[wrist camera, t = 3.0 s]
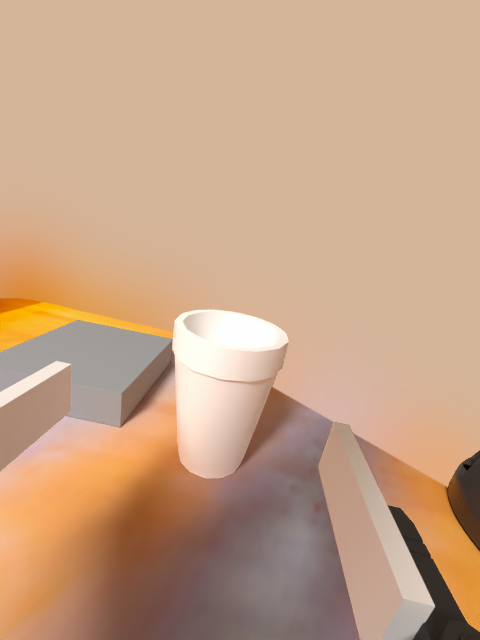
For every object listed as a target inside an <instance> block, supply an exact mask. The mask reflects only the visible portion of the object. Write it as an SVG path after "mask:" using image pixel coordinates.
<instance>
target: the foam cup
mask: <svg viewBox="0 0 480 640" xmlns="http://www.w3.org/2000/svg"><path fill="white" fill-rule="evenodd" d="M287 346H288V338H287V335H286V333H285V332H284V331H283V330H281V329H280V328H278V327H277V326H276V325H274V324H272V323H269V322H267V321H264V320H262V319H260V318H257V317H253V316H249V315H245V314H241V313H237V312H229V311H222V310H195V311H191V312H186V313H182V314H181V315H180V316H179V317H178V318H177V319H176V320H175V323H174V333H173V342H172V349H173V351H174V354H175V381H176V412H177V443H178V453H179V458H180V462H181V463H182V464H183V465H184V466H185V468H186V469H187V470H188V471H189V472H190V473H193V474H195V475H197V476H200V477H202V478H205V479H212V478H223V477H225V476H227V475H230V474H232V473H234V472H235V471H236V469H237V468H238V467H239V465H240V464H241V463H242V459H243V458H244V456H245V453H246V451H247V448H248V446H249V443H250V441H251V438H252V436H253V433H254V431H255V428H256V426H257V423H258V421H259V418H260V416H261V413H262V411H263V408H264V406H265V403H266V401H267V398H268V396H269V393H270V391H271V388H272V386H273V383H274V380H275V378H276V375H277V373H278V371H279V370H280V369H281V368H282V367H283V362H284V358H285V354H286V350H287Z"/></svg>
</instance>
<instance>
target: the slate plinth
mask: <svg viewBox="0 0 480 640" xmlns="http://www.w3.org/2000/svg"><path fill="white" fill-rule="evenodd" d="M172 342H173V339H170V338H165V337H160V336H155V335H150V334H145V333H140V332H135V331H130V330H125V329H120V328H115V327H110V326H105V325H99V324H94V323H89V322H84V321H79V320H77V321H75V322H72V323H70V324H67V325H65V326H62V327H60V328H58V329H55V330H53V331H50V332H48V333H46V334H43V335H41V336H38V337H36V338H33V339H31V340H29V341H26V342H24V343H21V344H19V345H17V346H14V347H12V348H9V349H7V350H4V351H2V352H0V392H1V391H3V390H5V389H7V388H8V387H10V386H12V385H14V384H16V383H17V382H19V381H21V380H23V379H25V378H26V377H28V376H30V375H32V374H34V373H35V372H37V371H39V370H41V369H43V368H45V367H46V366H48V365H50V364H52V363H54V362H55V361H59V362H64V363H69V364H71V411H70V412H69V413H68V414H67V415H66V416H70V417H74V418H79V419H84V420H88V421H93V422H98V423H102V424H107V425H112V426H116V427H121V425H122V424H123V423H124V422H125V420H126V419H127V418H128V417H129V415H130V414H131V413H132V411H133V410H134V409H135V408H136V406H137V405H138V404H139V403H140V401H141V400H142V399H143V397H144V396H145V395H146V394H147V392H148V391H149V390H150V388H151V387H152V386H153V385H154V383H155V382H156V381H157V380H158V378H159V377H160V376H161V374H162V373H163V372H164V371H165V369H166V368H167V367H168V366H169V364H170V363H171V354H172Z"/></svg>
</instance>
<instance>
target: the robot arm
mask: <svg viewBox="0 0 480 640" xmlns="http://www.w3.org/2000/svg"><path fill="white" fill-rule="evenodd" d="M70 411H71V364H69V363H64V362H59V361H55V362H54V363H52V364H50V365H48V366H46V367H45V368H43V369H41V370H39V371H37V372H35V373H34V374H32V375H30V376H28V377H26V378H25V379H23V380H21V381H19V382H17V383H16V384H14V385H12V386H10V387H8V388H7V389H5V390H3V391H1V392H0V471H1V470H2V469H4V468H5V467H6V466H7V465H8V464H9V463H11V462H12V461H13V460H14V459H15V458H17V457H18V456H19V455H20V454H21V453H22V452H24V451H25V450H26V449H27V448H28V447H29V446H31V445H32V444H33V443H34V442H35V441H36V440H38V439H39V438H40V437H41V436H42V435H43V434H45V433H46V432H47V431H48V430H49V429H50V428H52V427H53V426H54V425H55V424H56V423H57V422H59V421H60V420H61V419H62V418H63V417H64V416H66V415H67V414H68V413H69V412H70ZM318 470H319V474H320V478H321V482H322V486H323V490H324V494H325V498H326V502H327V507H328V511H329V515H330V519H331V523H332V527H333V531H334V535H335V539H336V544H337V548H338V552H339V556H340V560H341V564H342V568H343V572H344V576H345V581H346V585H347V589H348V593H349V597H350V601H351V605H352V609H353V613H354V617H355V622H356V626H357V630H358V634H359V638H360V640H480V632H479V631H477V630H476V629H474V628H473V627H471V626H470V625H469V624H468V623H467V621H466V620H465V618H464V616H463V615H462V613H461V611H460V609H459V607H458V605H457V603H456V602H455V600H454V598H453V596H452V594H451V592H450V590H449V589H448V587H447V585H446V583H445V581H444V579H443V577H442V576H441V574H440V572H439V570H438V568H437V566H436V564H435V563H434V561H433V559H431V555H430V553H429V551H428V550H427V548H426V546H425V544H423V540H422V538H421V537H420V535H419V533H418V531H417V529H416V527H415V525H414V524H413V522H412V521H411V520H410V519H409V518H408V517H407V515H406V514H405V513H404V512H403V511H402V510H401V508H397V507H393V506H388V505H387V504H386V502H385V499H384V497H383V495H382V493H381V491H380V489H379V487H378V485H377V483H376V480H375V478H374V476H373V474H372V472H371V470H370V468H369V466H368V464H367V462H366V459H365V457H364V455H363V453H362V451H361V449H360V447H359V445H358V443H357V440H356V438H355V436H354V434H353V432H352V430H351V428H350V426H349V425H346V424H341V423H337V422H333V424H332V427H331V430H330V433H329V436H328V439H327V442H326V445H325V448H324V450H323V453H322V456H321V459H320V462H319V465H318ZM448 495H449V500H450V503H451V506H452V508H453V511H454V513H455V515H456V516H457V518H458V520H459V522H460V523H461V525H462V526H463V528H464V529H465V531H466V532H467V534H468V535H469V537H470V538H471V539H472V541H473V542H474V543H475V544H476V546H477V547H478V548H479V549H480V451H479V452H477V453H476V454H475V455H473V456H472V457H471V458H468V459H466V460H465V461H464V462H462V463H461V464H460V465H459V467H458V468H457V470H456V472H455V473H454V475H453V477H452V479H451V481H450V483H449V486H448Z"/></svg>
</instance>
